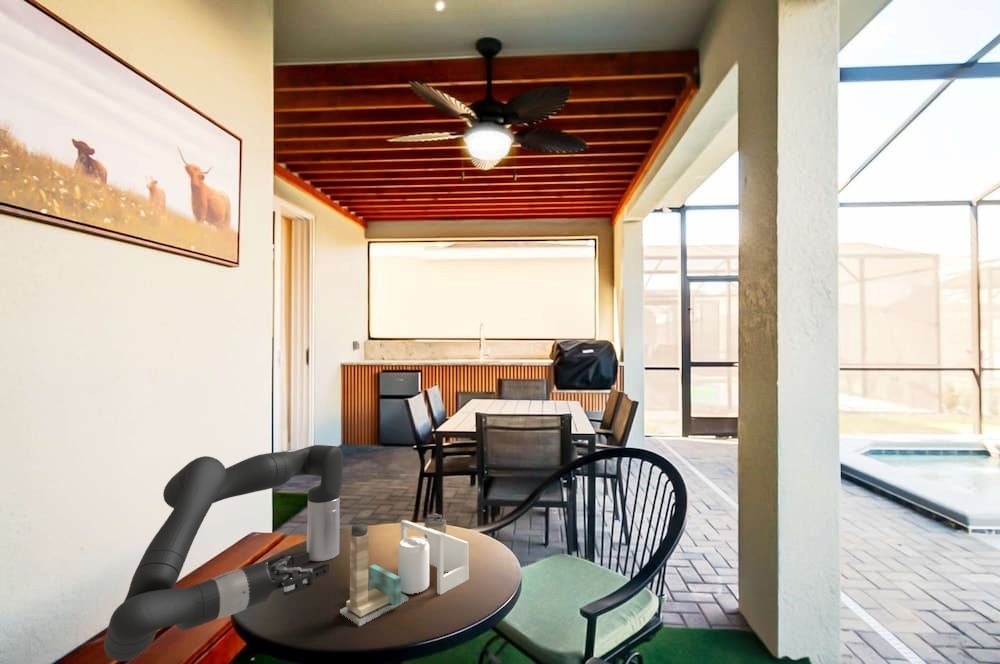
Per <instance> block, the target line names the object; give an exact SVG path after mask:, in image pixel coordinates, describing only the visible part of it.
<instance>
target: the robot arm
mask: <svg viewBox="0 0 1000 664" xmlns="http://www.w3.org/2000/svg"><path fill="white" fill-rule="evenodd" d="M343 471H344V454H343V451H342V449H341V448H340V447H339V446H338V445H337V446H336V445H325V444H313V445H310V446H307V447H304V448H301V449H297V450H294V451H277V452H275V451H274V452H268V453H260V454H257V455H254V456H251V457H248V458H246V459H243V460H241V461H239V462H237V463H234V464H233V465H230V466H228V467H225V465H224V464H223V463H222V462H221V461H220V460H219V459H217V458H215V457H213V456H207V455H205V456H204V455H203V456H200V457H196V458H195V459H193V460H192V461H189V462H188V463H187V464H186V465H184V466H183V467H182V468H181V469H180V470H179V471H178V472H176V473H175V474H174V475H173V476H172V477H171V478H170V479H169V480H168V482H167V483H166V484H165V486H164V489H163V501H164V502H165V503H166V504H167V505H168V506H169V507H170V508H172V511H171V513H170V514H169V515H168V517H167V518H166V520H165V521H164V522H163V524H162V526H161V527H160V528H159V530H158V531H157V532H156V534H155V535H154V537H153V539H151V541H150V543H149V545H148V546H147V548H146V549H145V552H144V554H143V555H142V557H141V559H140V561H139V564H138V565H137V567H136V570H135V571H134V573H133V576H132V579H131V581H130V584H129V589H128V592H127V594H126V597H125V599H124V601H123V602H122V603H121V604H119V605H118V606H117V608H115V610H114V611H113V613H112V614H111V617H110V619H109V624H108V627H107V630H106V633H105V637H104V641H103V647H104V648H103V649H104V651H105V654H106V656H107V657H108V658H109V659H111V660H113V661H115V662H127V661H131V660H133V659H135V658H137V657H139V656H140V655H142V654H143V653H144V652H145V651H146V650H148V649H149V647H150V646H151V644H152V643H153V642H154V639H155V638H156V635H157V633H158V630H161V629H164V628H168V627H172V626H176V627H177V628H178V629H179V630H182V631H187V630H191V629H195V628H196V627H199V626H203V625H205V624H207V623H210V622H213V621H215V620H218V619H221V618H227V617H229V616H232V615H235V614H237V613H240V612H242V611H245V610H247V609H250V608H253V607H255V606H258V605H261V604H263V603H265V602H267V601H268V600H269V599H270V597H271V594H272V593H273V592H274V591H279V590H283V591H282V592H283V596H284V597H285V596H290V595H292V594H294V593H297V592H301V591H303V590H306V589H308V588H309V589H310V588H312V587H314V585H315V580H316V579H318V578H321V577H324V576H325V575H328V574H329V572H330V564H329V563H328V562H325V561H328V560H329V561H330V560H332V559H335V558H336V557H338V556H339V554H340V514H341V513H340V508H341V507H340V505H341V504H340V503H341V502H340V500H341V499H340V497H341V489H342V485H343ZM298 476H299V477H300V476H315V477H316V476H317V477H320V485H316V486H313V487H312V488H310V489H309V490H308V492H307V523H306V552H302V553H299V554H296V555H293V556H292V555H286V554H280V555H277V556H274V557H270V558H268V559H265V560H262V561H260V562H255V563H253V564H250V565H247V566H244V567H240V568H238V569H237V568H236V569H234V570H230V571H228V572H225V573H222V574H219V575H218V576H216V577H213V578H211V579H207V580H205V581H201V582H197V583H195V584H192V585H189V586H187V587H175V586H176V583H177V582H178V579H179V577H180V574H181V572H182V569H183V567H184V565H185V562H186V559H187V558H188V555H189V552H190V550H191V547H192V545H193V543H194V540H195V538H196V536H197V534H198V532H199V529H200V528H201V526H202V523H203V521H204V519H205V518H206V516H207V514H208V512H209V510H210V509H211V507H212V505H213V504H214V503H218V502H221V501H223V500H226V499H230V498H234V497H238V496H239V497H240V496H243V495H247V494H252V493H256V492H261V491H266V490H270V489H274V488H277V487H281V486H282V485H285V484H286V483H287V482H289V480H291V479H292V477H293V478H294V477H298ZM285 555H286V556H285ZM310 561H312V562H324V563H321V564H318V565H315V566H312V567H310V568H309V567H308V568H302V567H300V566H302V565H305V564H308V563H309V562H310Z"/></svg>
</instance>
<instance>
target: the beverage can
mask: <svg viewBox="0 0 1000 664" xmlns="http://www.w3.org/2000/svg"><path fill="white" fill-rule="evenodd" d="M397 555H398V557H397V563H398V564H397V566H398V567H397V576H399V577H401V593H402V594H408V595H415V594H414V593H417V594H419V592H420V593H422V592H424V591H426V590H427V589H428V588H429V587H430V565H429V544H428V541H427V539H426V538H424V536H409V537H408V536H407V538H405V539H403V540H402V541H401V540H400V542H399V545H398V548H397Z"/></svg>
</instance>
